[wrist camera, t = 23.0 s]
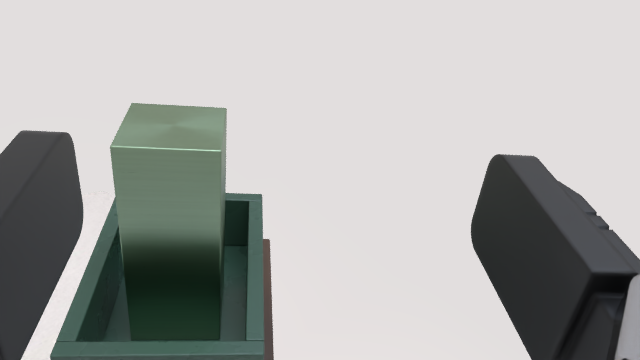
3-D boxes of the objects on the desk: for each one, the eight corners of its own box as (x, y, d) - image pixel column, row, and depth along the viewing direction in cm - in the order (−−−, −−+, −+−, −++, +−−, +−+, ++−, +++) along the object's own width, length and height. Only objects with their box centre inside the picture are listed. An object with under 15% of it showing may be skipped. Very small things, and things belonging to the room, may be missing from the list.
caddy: (259, 244, 36) (262, 193, 34) (260, 414, 25) (264, 354, 23) (123, 242, 34) (118, 189, 32) (63, 419, 24) (49, 356, 22)
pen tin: (224, 281, 31) (226, 107, 26) (219, 339, 28) (221, 150, 22) (146, 281, 31) (131, 102, 25) (130, 340, 27) (109, 146, 22)
